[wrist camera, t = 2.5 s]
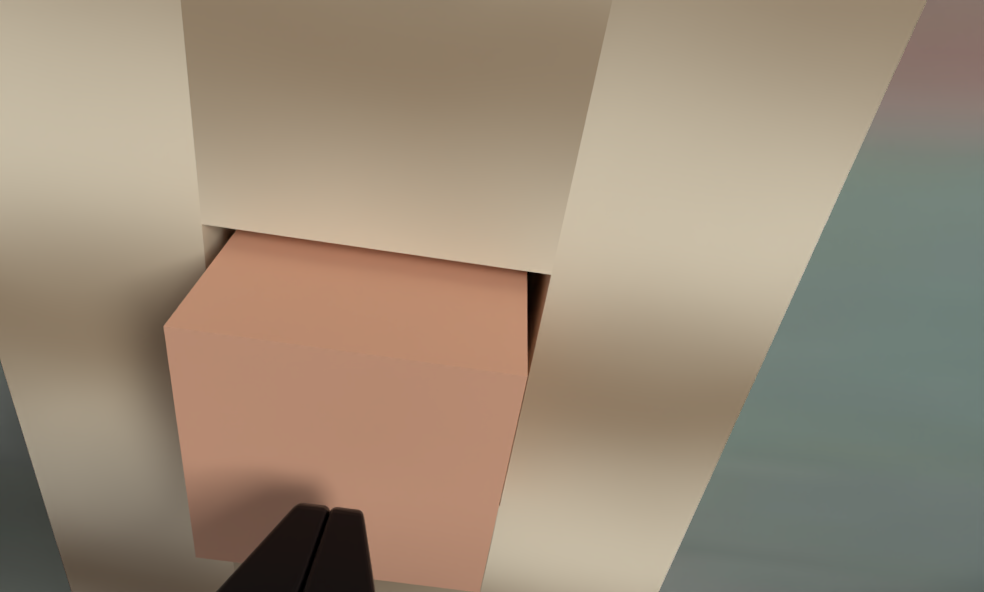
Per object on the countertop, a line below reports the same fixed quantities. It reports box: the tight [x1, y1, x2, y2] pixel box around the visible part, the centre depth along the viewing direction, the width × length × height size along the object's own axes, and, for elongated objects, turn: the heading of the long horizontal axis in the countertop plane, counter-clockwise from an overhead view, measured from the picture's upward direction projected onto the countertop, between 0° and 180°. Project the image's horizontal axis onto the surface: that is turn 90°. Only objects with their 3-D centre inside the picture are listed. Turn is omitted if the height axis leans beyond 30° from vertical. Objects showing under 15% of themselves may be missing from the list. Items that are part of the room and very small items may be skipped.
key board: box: [0, 0, 927, 592], centre depth 13 cm, size 30×12×3 cm, turn 172°
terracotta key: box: [163, 229, 528, 592], centre depth 11 cm, size 4×4×4 cm
